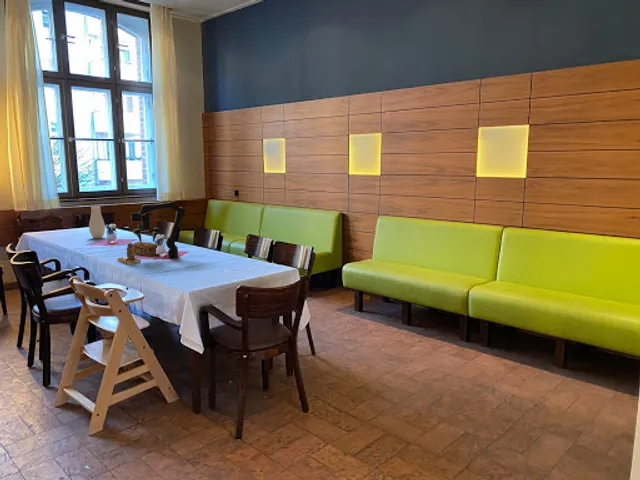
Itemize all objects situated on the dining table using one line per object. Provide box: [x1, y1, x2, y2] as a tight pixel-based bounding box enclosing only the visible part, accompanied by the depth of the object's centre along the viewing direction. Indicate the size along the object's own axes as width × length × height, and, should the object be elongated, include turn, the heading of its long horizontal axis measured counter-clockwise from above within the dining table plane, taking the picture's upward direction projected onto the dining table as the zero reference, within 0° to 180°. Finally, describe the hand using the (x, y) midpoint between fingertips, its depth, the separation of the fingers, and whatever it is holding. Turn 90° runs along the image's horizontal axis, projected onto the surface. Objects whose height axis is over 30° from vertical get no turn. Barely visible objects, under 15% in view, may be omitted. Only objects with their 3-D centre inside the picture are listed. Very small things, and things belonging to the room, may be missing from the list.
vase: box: [88, 205, 106, 239], centre depth 457 cm, size 14×14×30 cm
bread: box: [132, 241, 158, 257], centre depth 381 cm, size 19×11×10 cm, turn 67°
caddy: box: [117, 256, 141, 266], centre depth 351 cm, size 10×16×3 cm, turn 43°
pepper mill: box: [126, 242, 136, 261], centre depth 348 cm, size 5×5×14 cm
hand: (147, 242), depth 361 cm, fingers open, 9 cm apart
